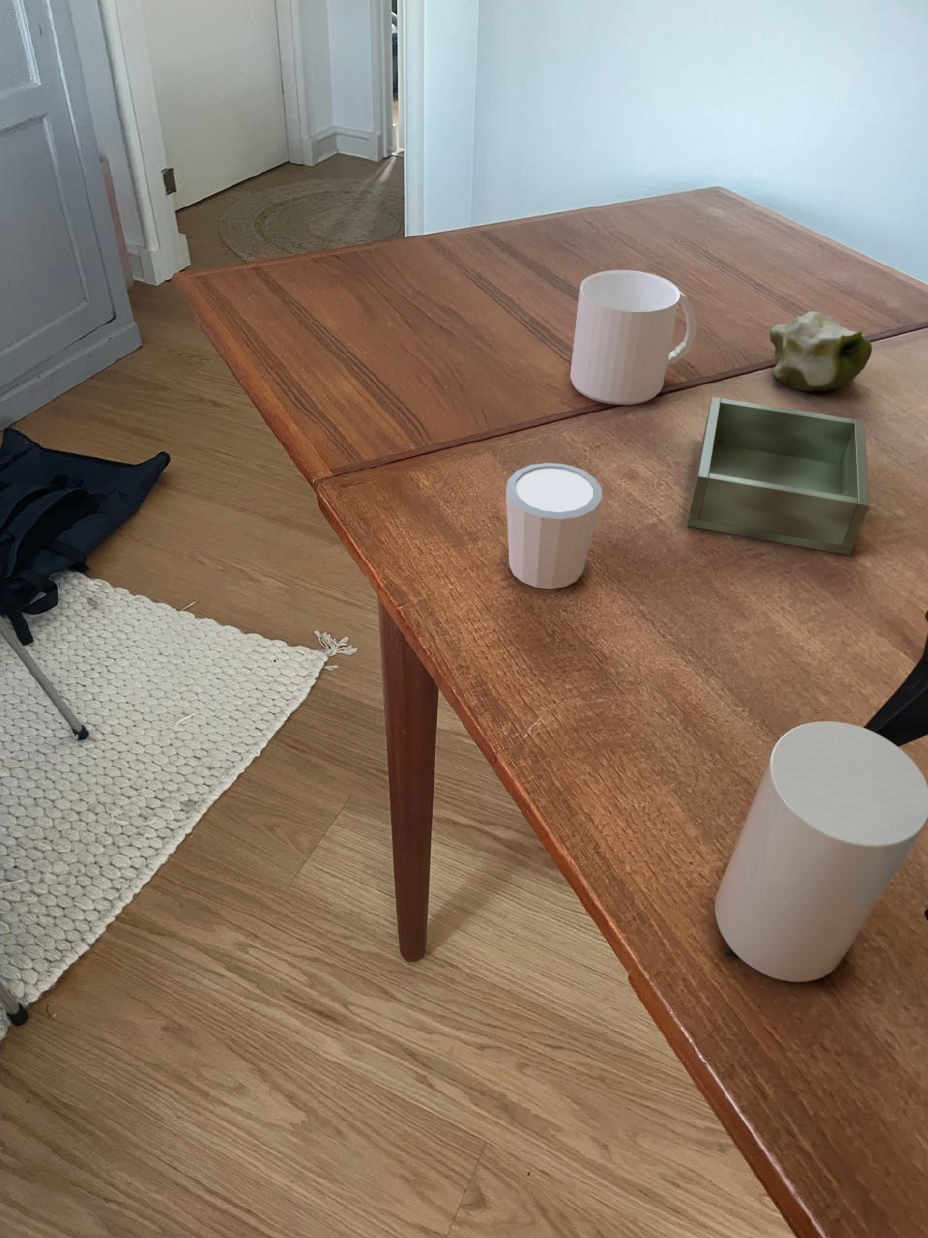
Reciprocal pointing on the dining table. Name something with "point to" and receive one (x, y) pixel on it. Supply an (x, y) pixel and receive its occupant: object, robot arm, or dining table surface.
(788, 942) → the white cylinder
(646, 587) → the dining table surface
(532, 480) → the faceted white cup
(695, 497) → the wooden box
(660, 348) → the mug
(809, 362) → the fruit
